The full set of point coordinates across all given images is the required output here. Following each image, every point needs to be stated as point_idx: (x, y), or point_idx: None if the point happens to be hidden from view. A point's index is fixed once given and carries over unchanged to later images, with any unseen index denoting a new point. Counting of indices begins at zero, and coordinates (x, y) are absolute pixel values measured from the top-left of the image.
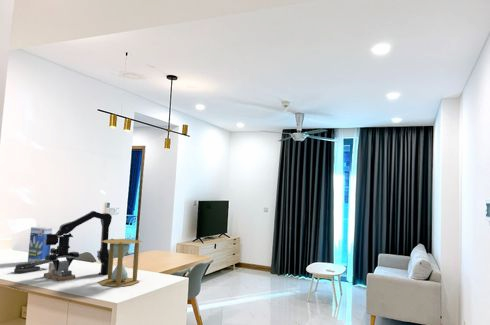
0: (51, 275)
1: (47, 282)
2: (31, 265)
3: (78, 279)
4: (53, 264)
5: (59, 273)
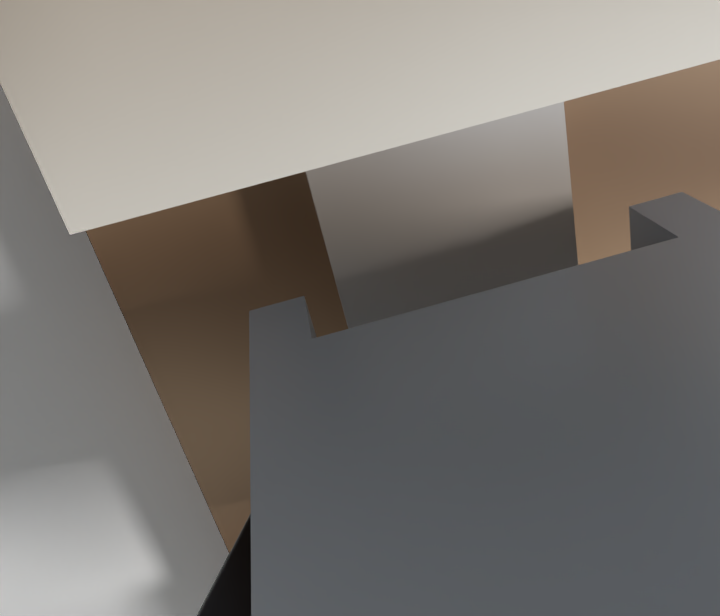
0: (128, 312)
1: (9, 605)
2: None
3: None
4: (163, 187)
5: None
